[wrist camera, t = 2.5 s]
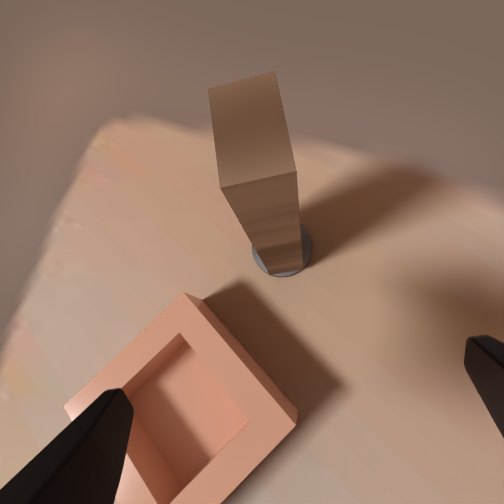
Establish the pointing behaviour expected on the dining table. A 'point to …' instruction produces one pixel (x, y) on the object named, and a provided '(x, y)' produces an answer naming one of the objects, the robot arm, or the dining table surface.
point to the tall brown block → (260, 171)
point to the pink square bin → (190, 408)
